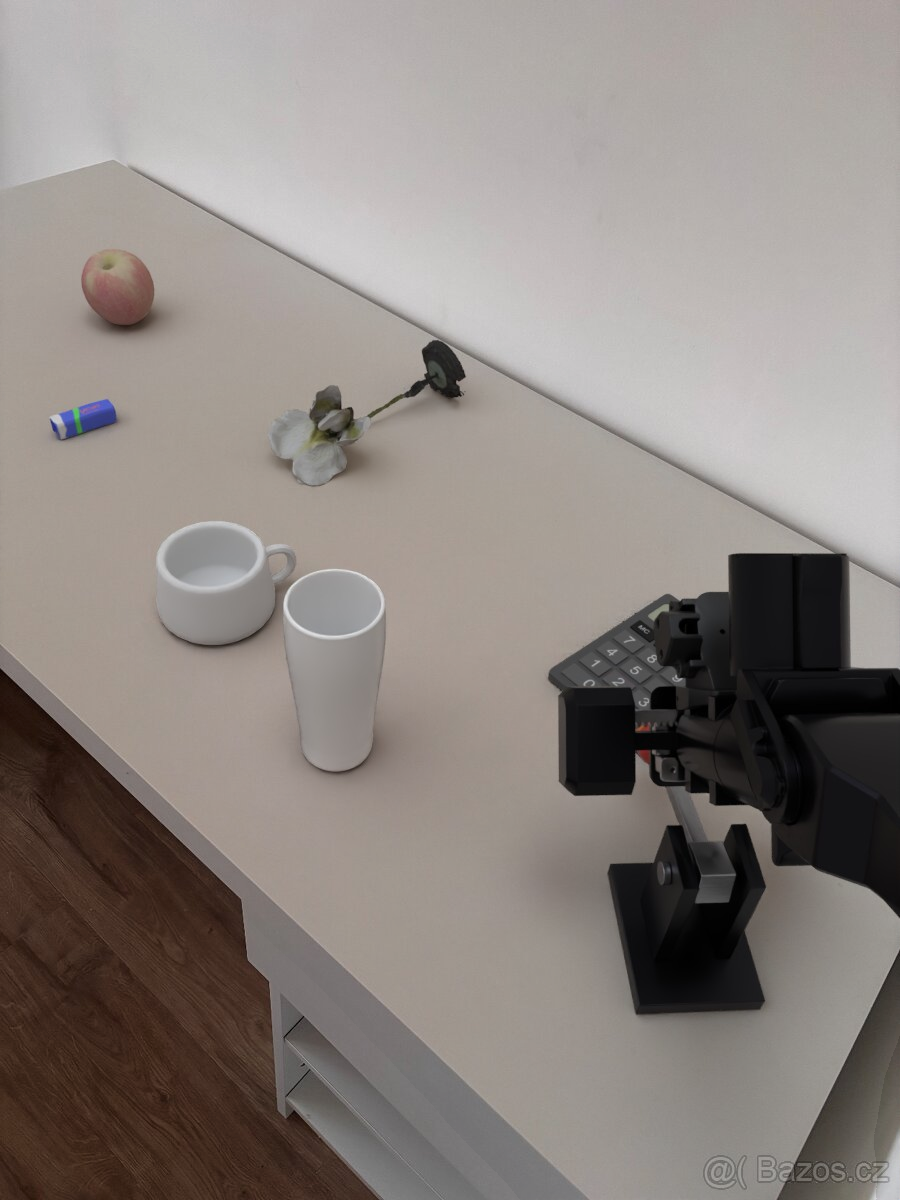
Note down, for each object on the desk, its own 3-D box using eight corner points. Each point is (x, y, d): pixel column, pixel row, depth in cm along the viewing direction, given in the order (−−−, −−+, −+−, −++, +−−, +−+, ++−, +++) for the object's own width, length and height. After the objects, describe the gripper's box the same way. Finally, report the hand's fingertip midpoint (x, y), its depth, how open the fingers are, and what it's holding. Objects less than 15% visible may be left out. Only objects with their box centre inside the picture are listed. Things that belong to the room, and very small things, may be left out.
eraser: (52, 431, 105) (48, 414, 103) (110, 414, 108) (107, 397, 106) (59, 441, 104) (55, 424, 102) (118, 424, 106) (115, 407, 105)
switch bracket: (607, 872, 73) (633, 787, 66) (720, 869, 73) (757, 785, 67) (635, 1014, 65) (668, 935, 59) (760, 1009, 66) (807, 930, 59)
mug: (179, 664, 84) (170, 610, 80) (143, 588, 90) (133, 533, 86) (319, 620, 88) (318, 566, 84) (276, 550, 94) (273, 497, 90)
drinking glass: (395, 726, 81) (402, 582, 70) (361, 795, 76) (363, 651, 66) (313, 701, 82) (308, 556, 72) (275, 766, 77) (263, 621, 67)
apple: (77, 313, 121) (64, 247, 116) (140, 297, 125) (130, 232, 119) (106, 345, 117) (94, 277, 111) (170, 327, 120) (161, 261, 115)
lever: (628, 747, 76) (634, 712, 74) (672, 747, 76) (679, 711, 75) (684, 909, 63) (693, 871, 62) (736, 907, 64) (747, 869, 62)
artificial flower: (478, 421, 113) (495, 357, 104) (303, 517, 104) (307, 456, 95) (427, 366, 116) (440, 300, 107) (252, 455, 107) (251, 390, 98)
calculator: (547, 669, 84) (668, 590, 92) (546, 677, 85) (666, 598, 93) (658, 761, 78) (778, 668, 86) (656, 768, 79) (774, 676, 87)
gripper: (935, 597, 56) (808, 603, 72) (589, 598, 54) (535, 604, 70) (938, 809, 56) (810, 768, 71) (590, 816, 54) (536, 773, 69)
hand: (674, 724), depth 70 cm, fingers closed
